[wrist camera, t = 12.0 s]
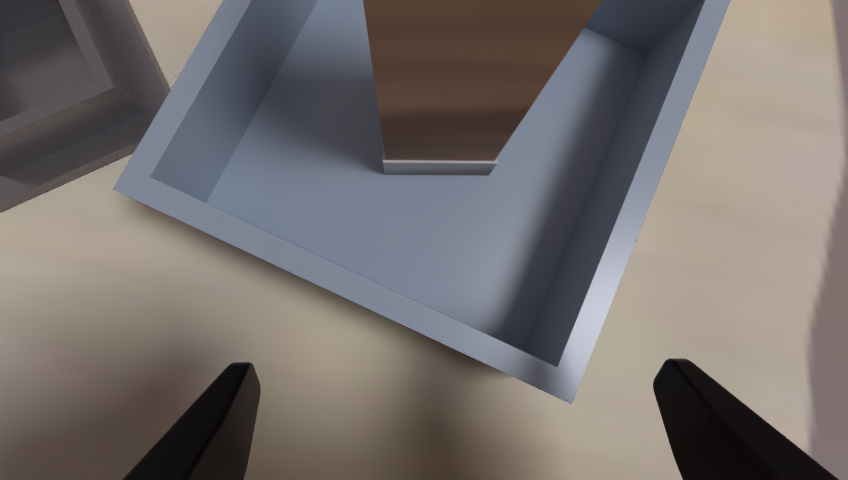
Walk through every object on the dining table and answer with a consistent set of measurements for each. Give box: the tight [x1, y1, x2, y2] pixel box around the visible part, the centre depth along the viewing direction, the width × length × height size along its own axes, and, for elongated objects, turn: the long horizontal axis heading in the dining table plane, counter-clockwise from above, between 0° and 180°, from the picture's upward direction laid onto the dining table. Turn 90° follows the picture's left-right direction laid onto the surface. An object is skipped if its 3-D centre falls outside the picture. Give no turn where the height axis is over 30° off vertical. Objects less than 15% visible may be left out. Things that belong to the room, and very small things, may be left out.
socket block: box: [0, 0, 171, 212], centre depth 16 cm, size 8×8×3 cm
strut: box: [363, 0, 603, 176], centre depth 11 cm, size 4×4×12 cm
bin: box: [113, 0, 730, 404], centre depth 16 cm, size 15×15×4 cm
